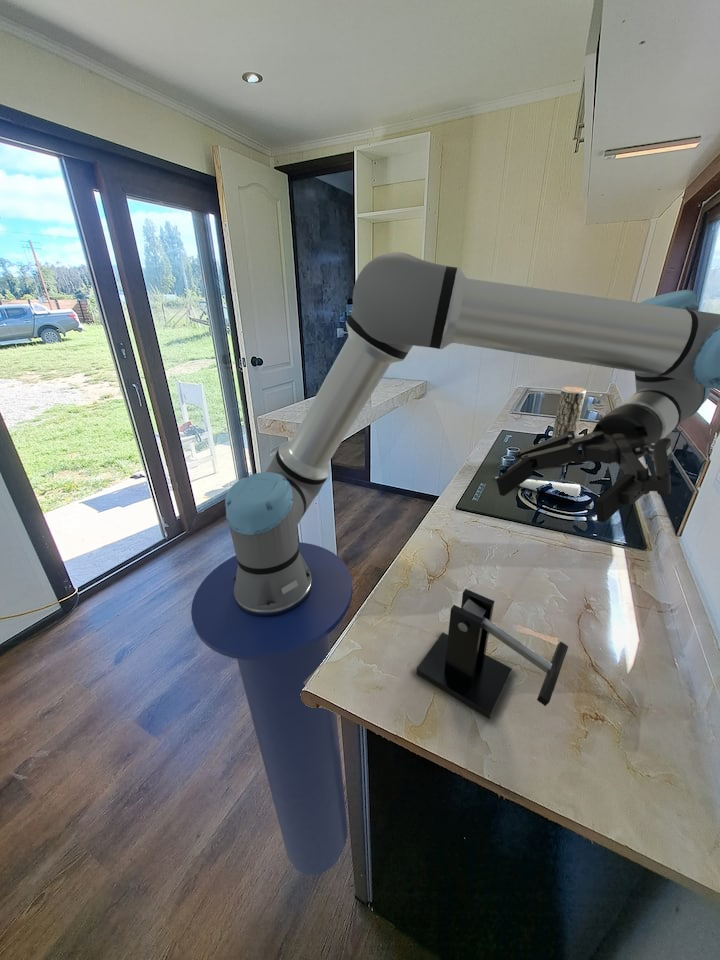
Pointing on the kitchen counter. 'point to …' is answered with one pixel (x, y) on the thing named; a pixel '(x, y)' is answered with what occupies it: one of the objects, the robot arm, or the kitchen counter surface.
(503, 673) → the bracket
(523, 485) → the unicorn horn
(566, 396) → the brown bark cylinder
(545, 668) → the lever
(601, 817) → the kitchen counter surface
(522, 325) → the robot arm
